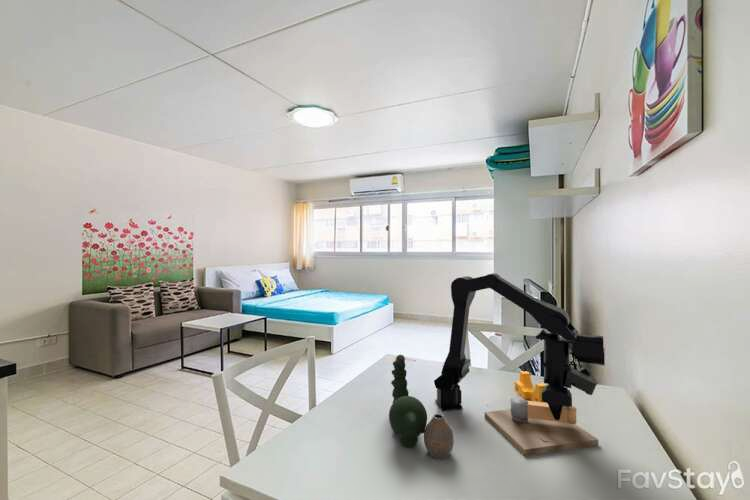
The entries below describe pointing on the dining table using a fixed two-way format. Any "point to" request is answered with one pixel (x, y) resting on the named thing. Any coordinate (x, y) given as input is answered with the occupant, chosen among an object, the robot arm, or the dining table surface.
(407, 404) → the toy figurine
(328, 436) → the dining table surface
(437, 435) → the vase
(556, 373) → the robot arm
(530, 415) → the latch lever
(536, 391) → the pipe clamp
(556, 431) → the mount plate
